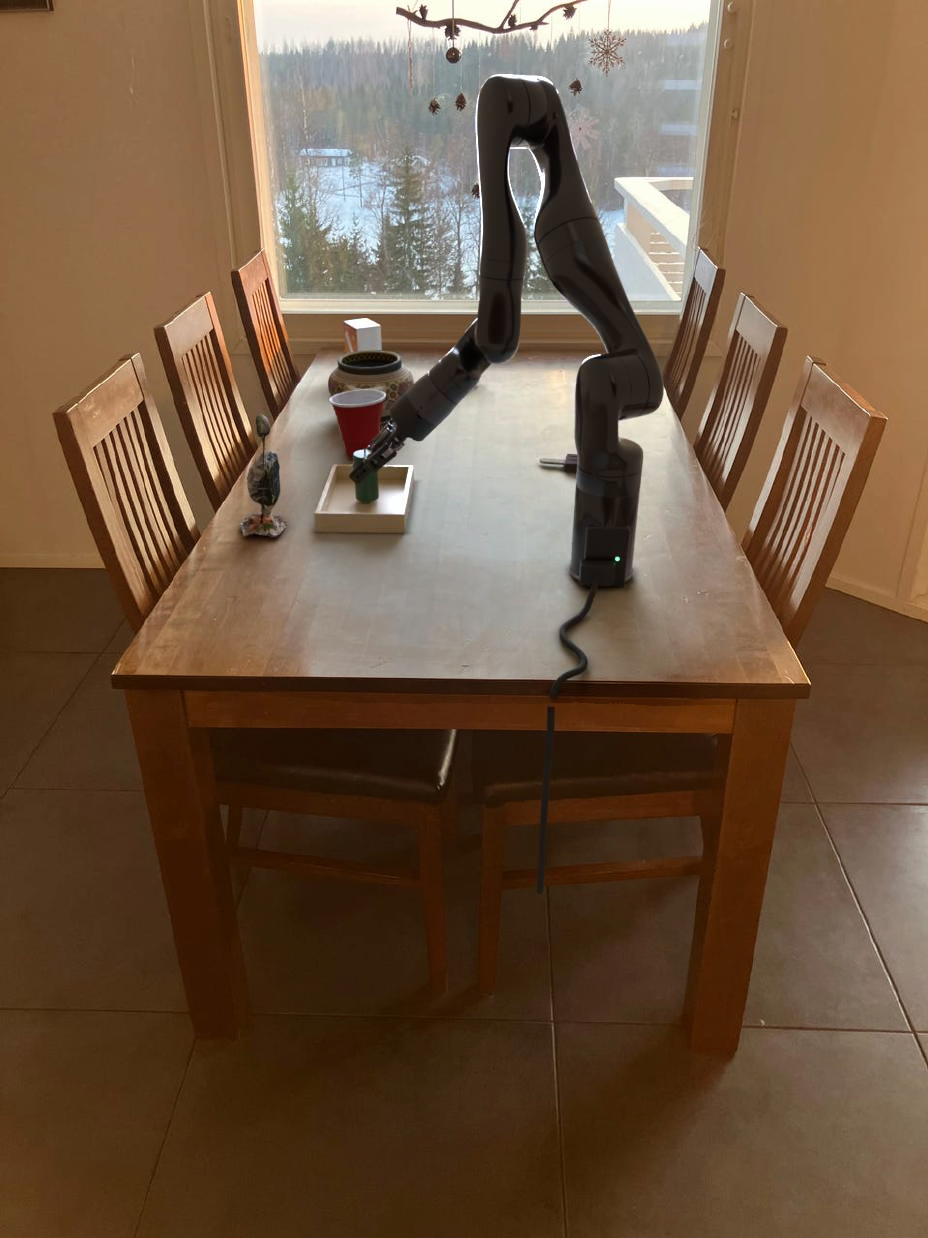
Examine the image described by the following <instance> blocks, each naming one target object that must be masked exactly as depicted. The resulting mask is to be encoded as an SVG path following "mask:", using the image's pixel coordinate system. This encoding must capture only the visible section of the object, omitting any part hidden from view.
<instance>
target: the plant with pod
mask: <svg viewBox="0 0 928 1238" xmlns="http://www.w3.org/2000/svg"><path fill="white" fill-rule="evenodd" d="M255 426H256V435H257V436H258V437H259V438H260V439H261V442H262V452H261V453H259V455H258V456H256V458H255V460H254V462H252V465H251V466H250V468H249V469H248V472H247V476H246V487H247V491H248V494H249V495H248V496H249V497H250V500H252V501H253V502H254V503H257V504H259V505H260V506H261V507H260V513H258V512H255V513H251V514H250V515H249V516H248V517H247V518H246V517H245V518H244V520H242V522H240V524H239V526H240V527H241V528H240V530H242V536H243V537H247V536H251V535H254V534H255V535H256V536H257V535H259V536H261V535H262V537H265V536H266V537H268V536H269V537H270V538H276V537H278V536H280V535H281V534H282V532H283V531H284V529H285V528H287V526H288V523H287V521H285V520H284V518H283V517H282V516H281V515H275V516H273V513H272V511H273V509H274V507H276V504H277V503H278V500H279V498H280V495H281V479H280V468H281V466H280V462H279V458H278V455H277V453H276V452H274V451H272V450H270V451H269V450H268V451H265V450H266V444H265V443H266V437H267V436H269V434H270V433H271V425H270V421H269V420H268V418H267V417H266V415H264V414H262V413H259V414H258V415H257V416H256V419H255ZM276 451H279V449H278V448H277V449H276Z"/></svg>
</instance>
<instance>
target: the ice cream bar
mask: <svg viewBox="0 0 928 1238" xmlns="http://www.w3.org/2000/svg"><path fill="white" fill-rule="evenodd" d="M577 457H578V456H577V453H566V456H565V459H561V458H547V457H544V458H543V457H542V458H540V459H539V464H542V465H544V464H545V465H556V466H557V465H558V466H563V471H564V472H567V473H577Z"/></svg>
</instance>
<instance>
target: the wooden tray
mask: <svg viewBox="0 0 928 1238" xmlns="http://www.w3.org/2000/svg"><path fill="white" fill-rule="evenodd" d="M353 470H354V468H353V464H340V463H339V464H332V467H331V469H330V472H329V474H328V477H327V480H326V483H325V485H324V488H323V491H322V493H321V496H320V498H319V500H318V503H317V506H316V508H315V511H314V523H315V524H314V527H315V532H316V533H381V534H382V533H385V534H387V533H388V534H391V533H393V534H405V533H406V528H407V523H408V518H409V511H410V507H411V501H412V495H413V489H414V485H415V483H414V482H415V466H414V465H413V464H385V465H384V466H383V467H382V468H381V469H379V470H378V486H379V498H378V499H377V500H375V501H372V502H361V501H358V500H357V499H356V494H355V482H353V481H352V480H351V479H350V478H349V474H350V473H351V472H352V471H353Z"/></svg>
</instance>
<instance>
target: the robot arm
mask: <svg viewBox="0 0 928 1238" xmlns="http://www.w3.org/2000/svg"><path fill="white" fill-rule="evenodd" d="M475 110H476V111H475V133H476V135H475V136H476V150H477V151H476V152H477V167H478V181H479V182H478V183H479V196H480V208H481V241H480V255H479V269H478V291H479V299H478V305H477V306H478V307H477V315H476V319H475V320H474V321H473V322H472V323H471V324H470V326H468V328H467V329H466V330H465V332H464V333H463V334H462V335H461V337H459V339H458V340H457V342H456V343H455V345H454V346H453V347H452V348H451V349H450V351H448V352H447V353H446V354H445V355H443V357H441V358H440V359H439V360H438V362H436V363H435V364H434V366H432V367H431V368H430V370H429V371H427V372H426V373H425V374H424V375H422V376H421V377H419V378H418V380H416V381H414V384H413V385H412V386H411V387H410V388H409V389H408V390H407V391H406V392H405V393H404V394H403V395H402V396H401V397H400V398H399V399H398V400H397V401H396V402H395V403H394V404H393V405H392V406H391V408H390V415H391V418H392V419H390V420H389V422H387V423H385V425H384V426H383V428H381V429H380V432H379V433H378V434H377V435H376V436H375V437H374V439H372V440H371V442H370V445H369V446H368V447H367V449H366V450H371V452H370V453H369V454H368V455H367V456H366V457H365V458H364V459H363V461H362V462H361V463H360V464H359V465H358V466H357V467H356V468H355V469H354V470H353V471H352V472H351V473H350V474H349V478H350V479H351V480H352V481H353V482H355V483H356V484H359V483H360V482H361V481H362V480H363V479H364V478H365V477H366V476H367V475H368V474H370V473H371V472H372V471H373V472H374V473H376V472H377V471H378V470H379V469H381V468H382V467H383V466H384V465H388V463H389V462H391V461H392V460H393V459H394V458H397V455H398V452H400V451H401V450H402V449H403V447H404V446H405V441H406V440H407V439H412V441H414V442H422V441H424V440H425V439H426V438H427V437H428V436H429V435H430V434H431V433H432V432H433V431H434V430H435V429H437V427H438V426H439V425H440V424H441V423H443V422H444V420H445V419H446V418H448V417H449V416H450V415H451V413H452V412H453V411H454V410H455V409H456V407H457V406H458V405H459V404H460V403H461V402H462V401H464V399H465V398H466V397H467V396H468V395H469V394H470V393H471V392H472V391H473V390H474V389H475V388H476V387H477V386H478V385H479V383H480V381H481V379H482V376H483V374H484V373H485V372H486V370H487V369H489V368H490V367H491V366H492V364H493V365H501V364H504V363H506V362H508V361H509V360H511V359H512V358H513V357H514V356H515V355H516V353H517V351H518V349H519V346H520V342H521V341H520V340H521V327H522V326H521V325H522V295H523V291H524V290H523V289H524V285H525V278H526V269H527V268H526V267H527V258H528V236H527V231H526V226H525V222H524V221H523V218H522V216H521V212H520V210H519V207H518V205H517V202H516V200H515V197H514V195H513V191H512V187H511V182H510V175H509V161H510V153H511V149H528V150H529V151H530V152H531V154H532V156H533V158H534V160H535V163H536V166H537V169H538V173H539V176H540V177H539V178H540V181H541V190H540V196H539V200H538V204H537V208H536V213H535V218H534V223H533V240H534V243H535V246H536V247H535V248H536V250H537V252H538V256H539V258H540V261H541V264H542V266H543V269H544V271H545V272H544V273H545V274H546V277H547V279H548V281H549V283H550V284H551V285H552V287H553V288H554V290H555V291H556V292H557V293H558V294H559V295H560V296H561V297H562V298H563V299H564V300H565V301H566V302H567V303H568V304H569V305H570V306H571V307H572V308H574V310H576V311H577V312H578V313H579V314H580V315H581V316H582V317H583V318H585V320H587V322H588V323H589V324H590V325H591V326H592V327H593V328H594V330H595V331H596V333H597V335H598V336H599V338H600V340H601V341H602V343H603V345H604V348H605V351H606V353H599V354H595V355H591V356H588V357H587V358H585V359H584V360H583V361H582V362H581V363H580V366H579V367H578V370H577V373H576V377H575V383H574V431H573V432H574V433H573V434H574V436H573V437H574V438H573V439H574V446H575V449H576V454H577V456H578V457H577V472H576V478H575V492H574V494H575V495H574V507H573V520H572V521H573V523H572V537H571V551H570V552H571V553H570V557H571V558H570V564H569V573H570V576H571V577H572V578H573V579H574V580H576V581H578V582H579V585H582V587H590V589H589V593H588V595H587V598H586V601H585V603H584V605H583V607H582V608H581V610H580V612H578V613H577V614H576V615H575V616H573V617H572V618H570V619H568V620H567V621H565V622H564V623H563V624H562V625H561V626H560V628H559V631H558V637H559V639H560V641H561V642H562V644H563V645H564V647H566V648H567V649H568V650H570V651H571V653H573V654H574V655H575V656H577V658H578V659H579V665H578V666H577V667H574V668H572V669H569V670H567V671H565V672H564V673H562V674H561V675H560V676H558V677H557V678H556V680H555V681H554V682H553V684H552V686H551V689H550V691H549V695H548V696H549V698H551V699H555V698H557V696H558V693H559V691H560V689H561V687H562V686H563V684H564V683H565V682H567V680H570V679H571V678H573V677H576V676H578V675H581V674H582V673H584V672H585V671H586V669H587V668H588V665H589V664H588V662H589V661H588V657H587V655H586V653H584V651H583V650H582V649H581V648H579V647H578V646H577V645H576V644H575V643H573V641H571V640H570V638H569V637H568V635H567V631H568V630H569V629H570V628H571V627H572V626H574V625H576V624H577V623H578V622H580V621H582V620H583V619H584V618H585V617H586V616H587V614H588V613H589V612H590V611H591V608H592V605H593V603H594V600H595V598H596V595H597V592H598V588H599V587H606V588H607V587H608V588H609V587H610V588H613V587H614V588H623V587H625V586H626V583H627V582H629V581H630V580H631V579H632V577H633V572H634V571H633V570H634V569H633V564H634V555H635V543H636V534H637V533H636V532H637V523H638V512H639V505H640V503H639V502H640V493H641V486H642V485H641V484H642V476H643V475H642V473H643V465H644V464H643V463H644V450H643V448H642V446H641V445H640V444H638V443H637V442H635V441H633V440H632V439H629V438H626V437H621V436H619V422H621V421H626V420H630V419H636V418H640V417H641V418H642V417H645V416H648V415H651V414H653V413H655V412H656V411H657V410H658V409H659V408H660V406H661V404H662V402H663V399H664V392H665V386H664V376H663V374H662V369H661V366H660V363H659V361H658V359H657V356H656V353H655V352H654V350H653V348H652V345H651V344H650V342H649V341H650V340H648V338H647V335H646V334H645V332H644V330H643V327H642V325H641V323H640V322H639V319H638V317H637V315H636V313H635V312H634V309H633V307H632V305H631V303H630V300H629V298H628V295H627V292H626V290H625V288H624V286H623V283H622V279H621V278H620V275H619V273H618V271H617V268H616V265H615V262H614V260H613V257H612V254H611V250H610V247H609V244H608V242H607V239H606V235H605V233H604V230H603V228H602V225H601V223H600V220H599V217H598V215H597V213H596V210H595V208H594V205H593V203H592V200H591V197H590V194H589V192H588V188H587V186H586V182H585V180H584V177H583V174H582V171H581V168H580V165H579V161H578V158H577V154H576V151H575V148H574V147H575V146H574V143H573V140H572V135H571V132H570V128H569V123H568V120H567V116H566V112H565V108H564V106H563V102H562V99H561V96H560V94H559V91H558V89H557V88H556V87H555V85H554V84H553V82H552V81H550V80H549V79H548V78H546V77H543V76H540V75H531V74H529V75H527V74H494V75H491V76H489V77H488V78H487V79H486V80H485V81H484V83H483V84H482V86H481V87H480V90H479V93H478V97H477V102H476V109H475ZM373 459H375V460H376V461H377V463H376V464H375V463H374V462H373V461H372V460H373ZM352 465H353V468H354V462H352ZM555 711H556V707H555V706H547V707H546V734H545V744H544V745H545V746H544V758H543V770H542V784H541V799H540V817H539V819H540V820H539V836H538V837H539V838H538V855H537V856H538V858H537V874H536V875H537V876H536V894H538V895H542V894H543V893H544V884H545V869H546V852H547V849H546V848H547V833H548V815H549V799H550V787H551V786H550V785H551V772H552V762H553V761H552V760H553V748H554V738H555V723H556V722H555V720H556V717H555V713H556V712H555Z"/></svg>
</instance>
